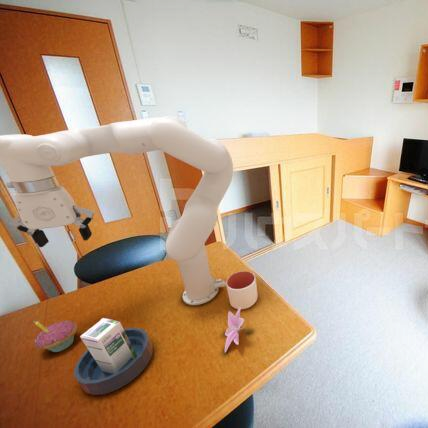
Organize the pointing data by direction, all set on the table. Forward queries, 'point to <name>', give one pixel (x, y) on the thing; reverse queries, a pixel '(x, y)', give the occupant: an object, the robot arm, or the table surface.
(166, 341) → the table surface
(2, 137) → the robot arm
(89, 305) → the table surface
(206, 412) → the table surface
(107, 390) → the bowl
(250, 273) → the cup
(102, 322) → the syrup box
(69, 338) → the cupcake
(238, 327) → the lily
